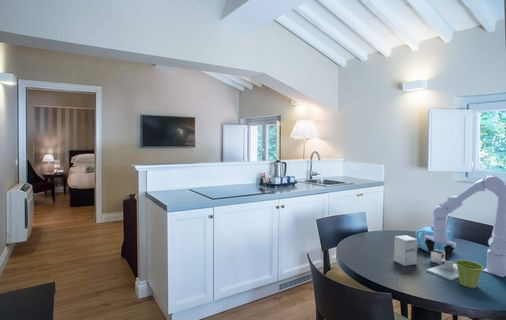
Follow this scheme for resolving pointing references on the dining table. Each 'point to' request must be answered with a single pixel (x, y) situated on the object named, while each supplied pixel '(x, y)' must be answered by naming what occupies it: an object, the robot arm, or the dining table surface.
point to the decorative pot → (429, 232)
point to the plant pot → (469, 273)
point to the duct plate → (446, 270)
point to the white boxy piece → (438, 256)
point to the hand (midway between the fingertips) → (439, 257)
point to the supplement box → (405, 250)
